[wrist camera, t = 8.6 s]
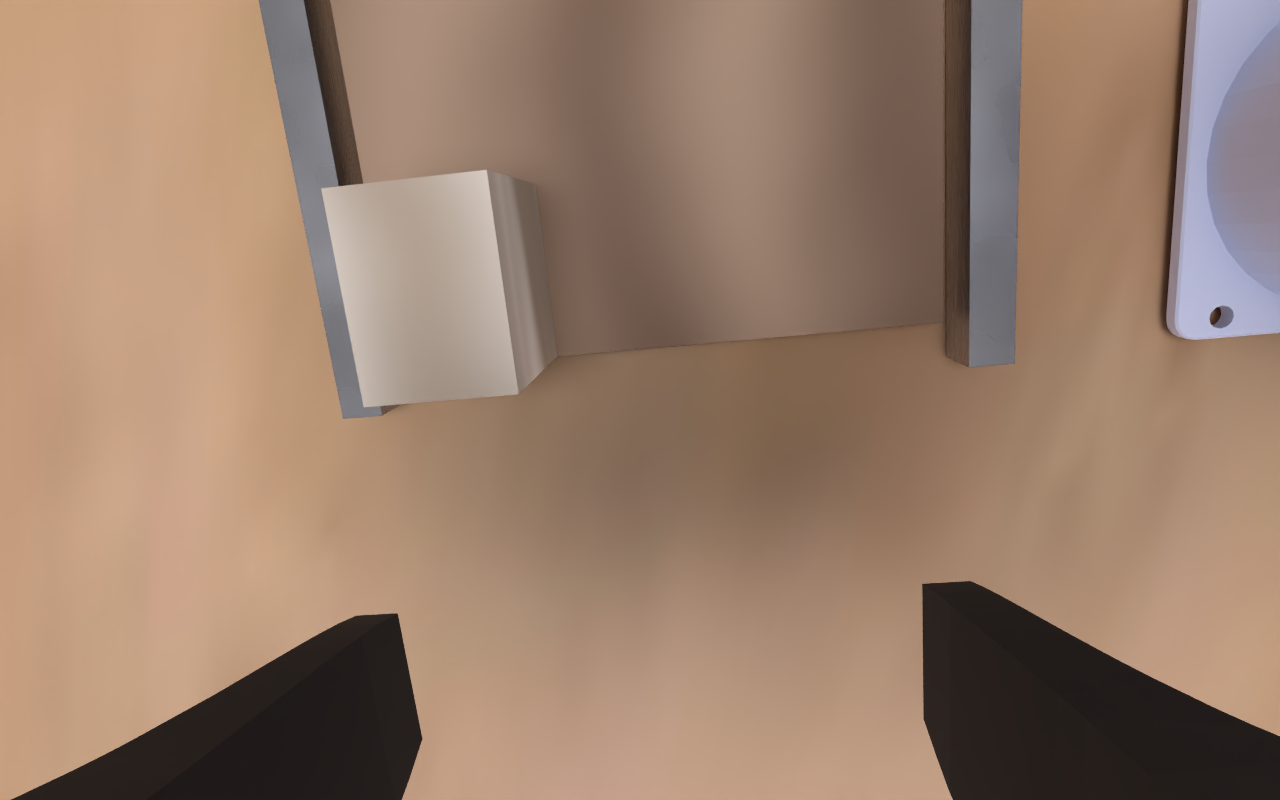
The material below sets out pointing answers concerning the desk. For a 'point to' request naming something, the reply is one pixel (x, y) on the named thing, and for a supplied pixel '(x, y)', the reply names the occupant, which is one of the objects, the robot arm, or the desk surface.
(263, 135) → the desk surface
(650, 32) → the shallow tray
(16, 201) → the desk surface
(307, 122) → the guide rails
